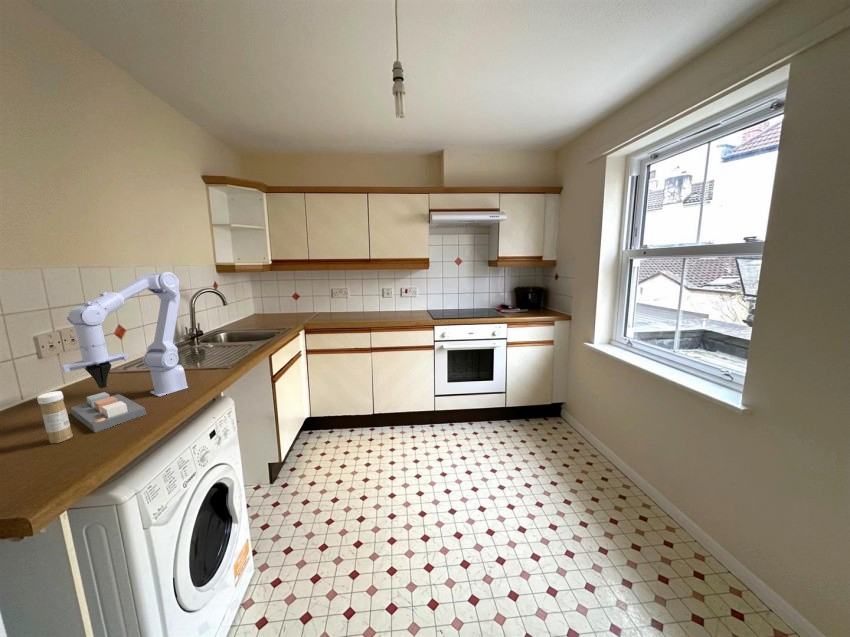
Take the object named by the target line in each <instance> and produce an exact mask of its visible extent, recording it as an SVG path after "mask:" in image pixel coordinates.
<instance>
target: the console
mask: <svg viewBox="0 0 850 637" xmlns="http://www.w3.org/2000/svg"><path fill="white" fill-rule="evenodd" d="M112 396H113V397H115V398H116V399H118V402H119V401H122V402H124V403H125V404H126V406H127V410H128V412H126V413H123V414H120V415H117V416H114V417H110V418H106V417H104V415H103V412H100V413H98V412H97V411H96V409H95V407H92V408H91V407H90V406H89V405H88V402H85V403H82V404H78V405H75V406H70V410H71V411H70V412H71V415H72V416H73V417H74V418H75V419H77V420H78V421H79V422H80V423H82V424H83V425H85V426H86V427H87V428H89V429H90V430H91V431H92V432H93V433H95V432H96V433H99V432H102V431H105V430H107V428H108V429H110V427H111V428H113V427H112V426H114V427H116V426H115V425H117V424H120V423H122V424H124V423H123V422H125V423H127V422H126V421H128V420H131V419H134V418H136V417H140V416H143V415H146V416H147V411H146V407H144V406H143V405H141V404H138V403H137V402H135V401H133V400H132V399H129V398H127V397H125V396H124V395H121V394H120V393H118V394H115V395H110V397H112ZM143 417H144V416H143ZM140 418H141V417H140ZM134 420H135V419H134ZM131 421H132V420H131ZM128 422H129V421H128ZM120 425H121V424H120ZM117 426H118V425H117ZM104 429H105V430H104ZM101 430H102V431H101Z"/></svg>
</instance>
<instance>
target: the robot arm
mask: <svg viewBox="0 0 850 637" xmlns="http://www.w3.org/2000/svg"><path fill="white" fill-rule="evenodd" d="M179 286H180V279H178V277H177V276H176V275H175V273H172V272H170V271H165V272H164V271H163V272H146V273H144V274H143V275H139V276H138V277H137V278H136V279H135V280H133V281H130V282H129V283H128V284H127V285H125V286H123V287H122V288H120V289H118V290H117V291H115V292H113V291H107V292H105V291H103V292H100V293H99V296H98V297H96V298H94V299H92V300H90V301H89V300H86V301H85V302H84V306H83V305H82V306H75V307H74V308H71V310H70V311H69V312H68V317H66V320H67V322H69V324H71V325H72V326H73V327H74V330H75V334H76V337H77V342H78V345H79V350H80V354H81V358H82V360H78V361H75V362H70V363H67V364H66V363H65V364H63V365H61V369H62V372H63V373H65V374H67V373H69V372H72V371H77V370H82V369H84V370H85V371H86V372H88V373H89V375H90V376H91V377H92V378H93V380H94V381H95V383H96V384H97V387H98V388H99V389H105V388H107V384H108V383H107V382H108V375H109V373H110V370H111V369H112V364H111V363H113V362H118V361H123V360H124V361H125V360H129V355H128V352H122V353H121V352H120V353H116V354H109V352H108V348H107V343H106V339H105V334H104V329H103V325H102V323H104V321H105V320H106V317H108V316H109V315H111V314H112V313H114V312H116V311H118V310H119V309H121V308H122V307H123V306H125V301H126V300H128V299H130V298H132V297H134V296H135V295H139V293H142V292H144V291H145V290H147V291H149V292H151V293H153V294H154V295H156V296H157V297H158V298H159V299H160V304H159V311H158V317H157V323H156V329H155V333H154V340H153V342H152V343H151V344H149V345H148V347H147V350H146V352H145V353H144V354H143V358H142V363H143V365H144V366H145V367H147V368H148V370H149V371H150V377H151V381H152V385H153V389H154V390H151V391H149V393H150V394H152V395H154V396H156V397H162V396H166V394H167V395H169V394H172V393H176V392H180V391H183V390H186V389H188V388H189V386H188V383H187V377H186V373H185V369H184V367H183V365H182V364H178V363H179V359H180V358H179V353H178V350H179V348H178V347H177V346H176V345H175V344H174V337H175V331H176V324H177V319H178V313H179V307H180V302H181V295H180V294H181V293H180V288H179Z"/></svg>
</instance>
